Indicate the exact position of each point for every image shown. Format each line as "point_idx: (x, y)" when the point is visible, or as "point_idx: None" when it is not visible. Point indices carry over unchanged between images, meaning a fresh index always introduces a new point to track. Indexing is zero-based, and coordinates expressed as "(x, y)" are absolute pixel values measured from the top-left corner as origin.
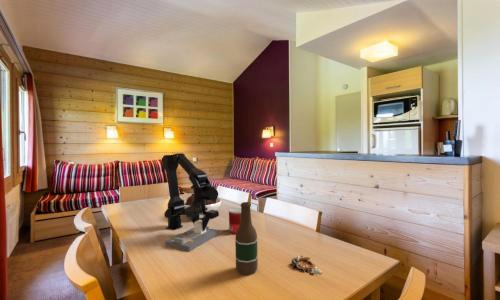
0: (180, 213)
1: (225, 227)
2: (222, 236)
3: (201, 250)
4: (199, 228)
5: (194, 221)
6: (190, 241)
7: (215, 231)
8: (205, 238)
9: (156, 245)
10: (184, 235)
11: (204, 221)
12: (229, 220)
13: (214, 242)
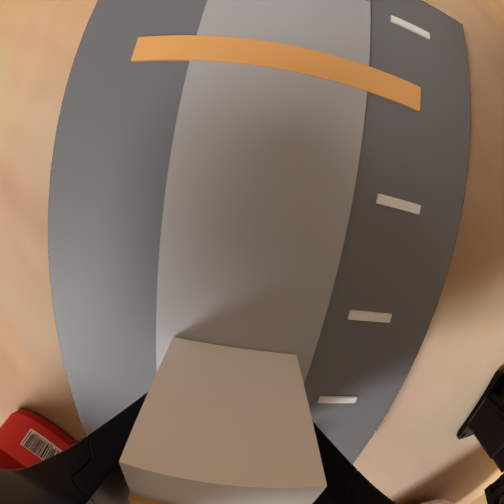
0: (501, 485)
1: None
2: (52, 375)
3: (48, 48)
4: (183, 390)
5: (333, 502)
6: (164, 37)
7: (89, 414)
8: (52, 221)
9: (487, 51)
10: (388, 217)
11: (30, 471)
12: None
13: (20, 240)
